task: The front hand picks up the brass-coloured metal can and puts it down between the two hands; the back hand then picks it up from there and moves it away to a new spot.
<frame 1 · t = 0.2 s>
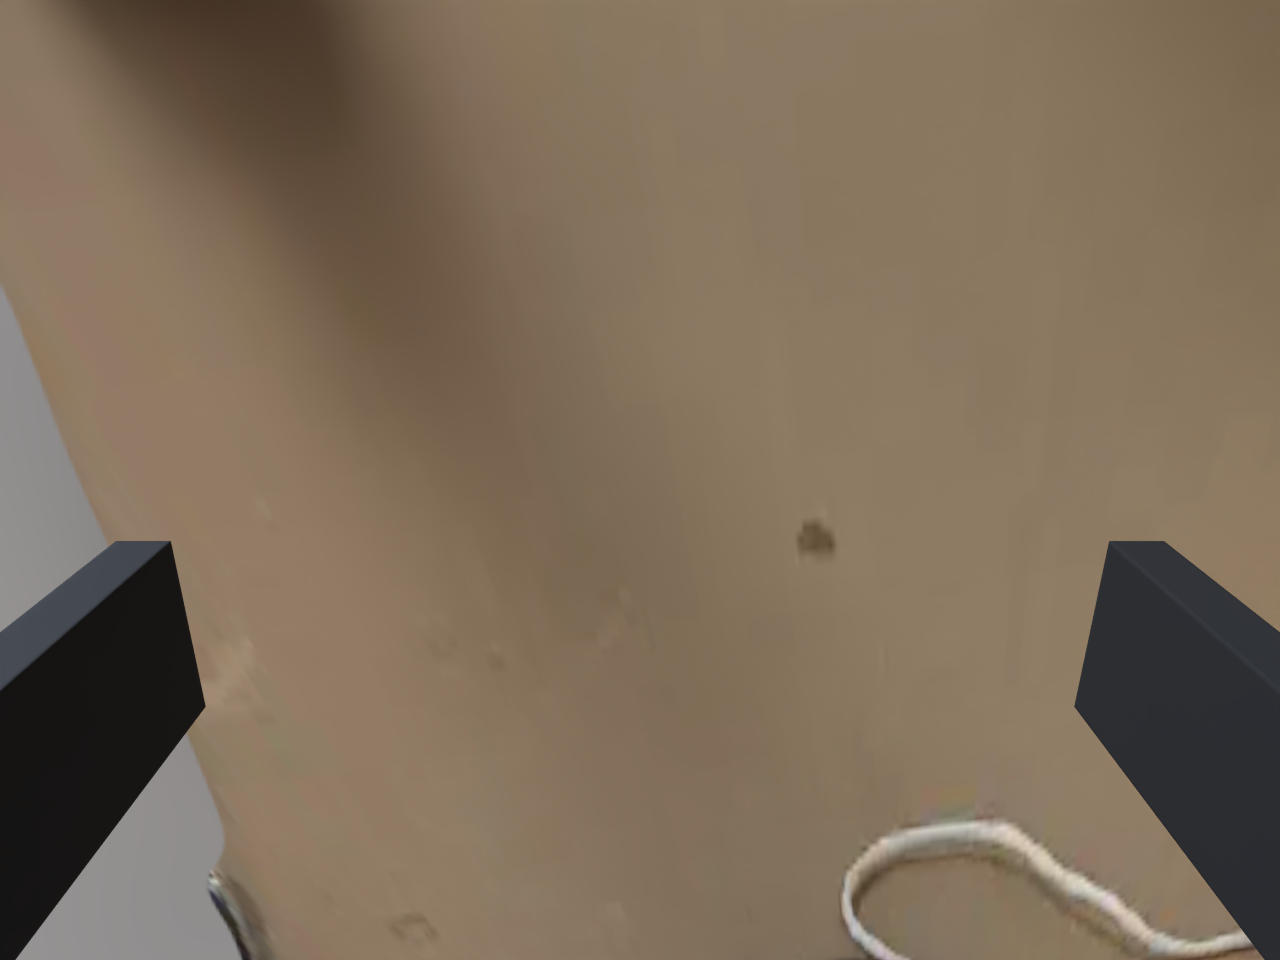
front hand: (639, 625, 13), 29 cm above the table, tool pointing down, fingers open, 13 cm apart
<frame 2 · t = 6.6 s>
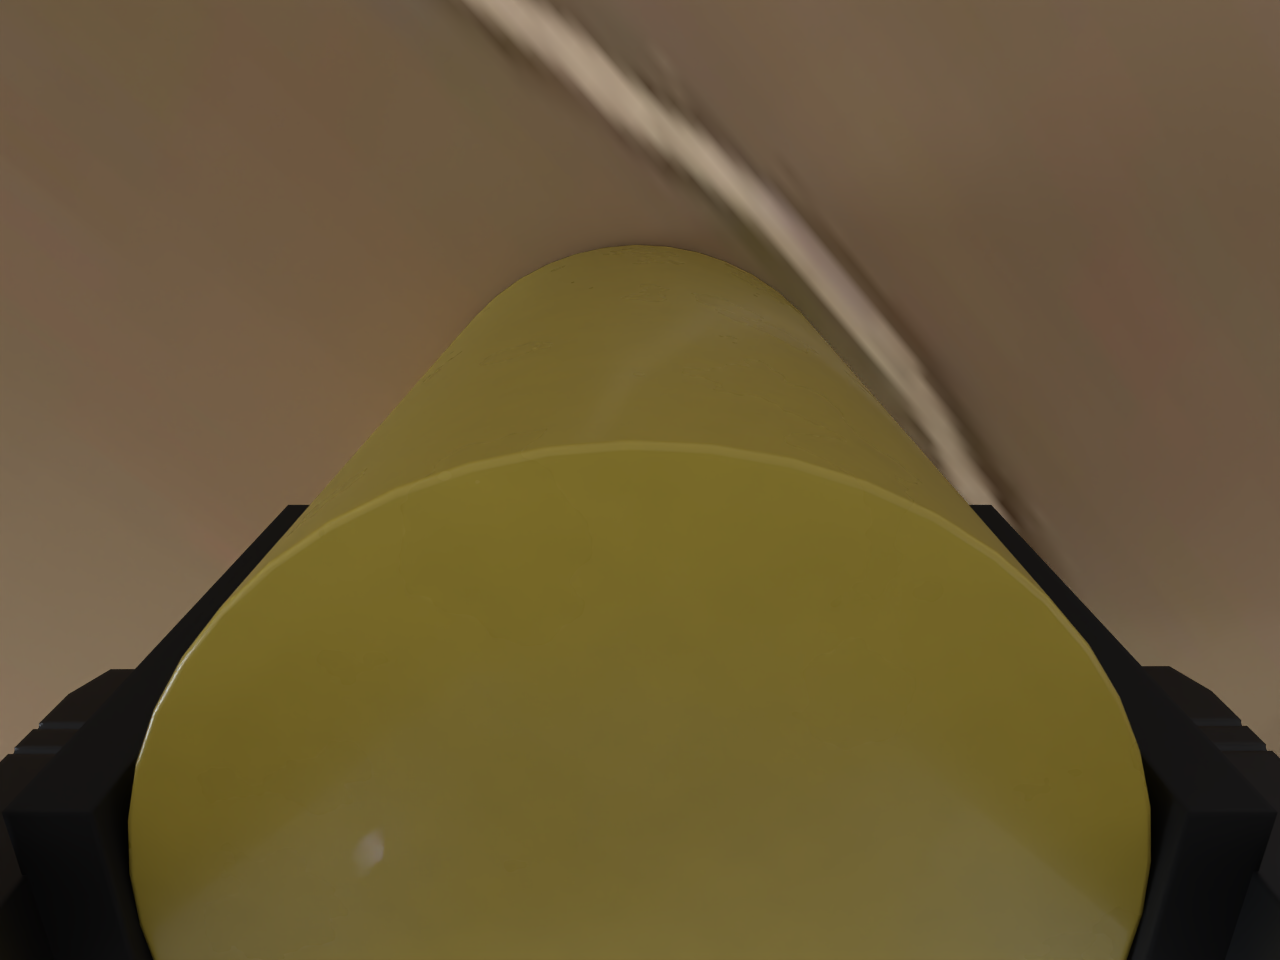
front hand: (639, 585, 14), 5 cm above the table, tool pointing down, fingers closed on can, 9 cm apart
can: (639, 464, 19), on the table, touching front hand
when the front hand's fingers open (7 cm above the table, at t = 16.2 s): can drops 1 cm, on the table.
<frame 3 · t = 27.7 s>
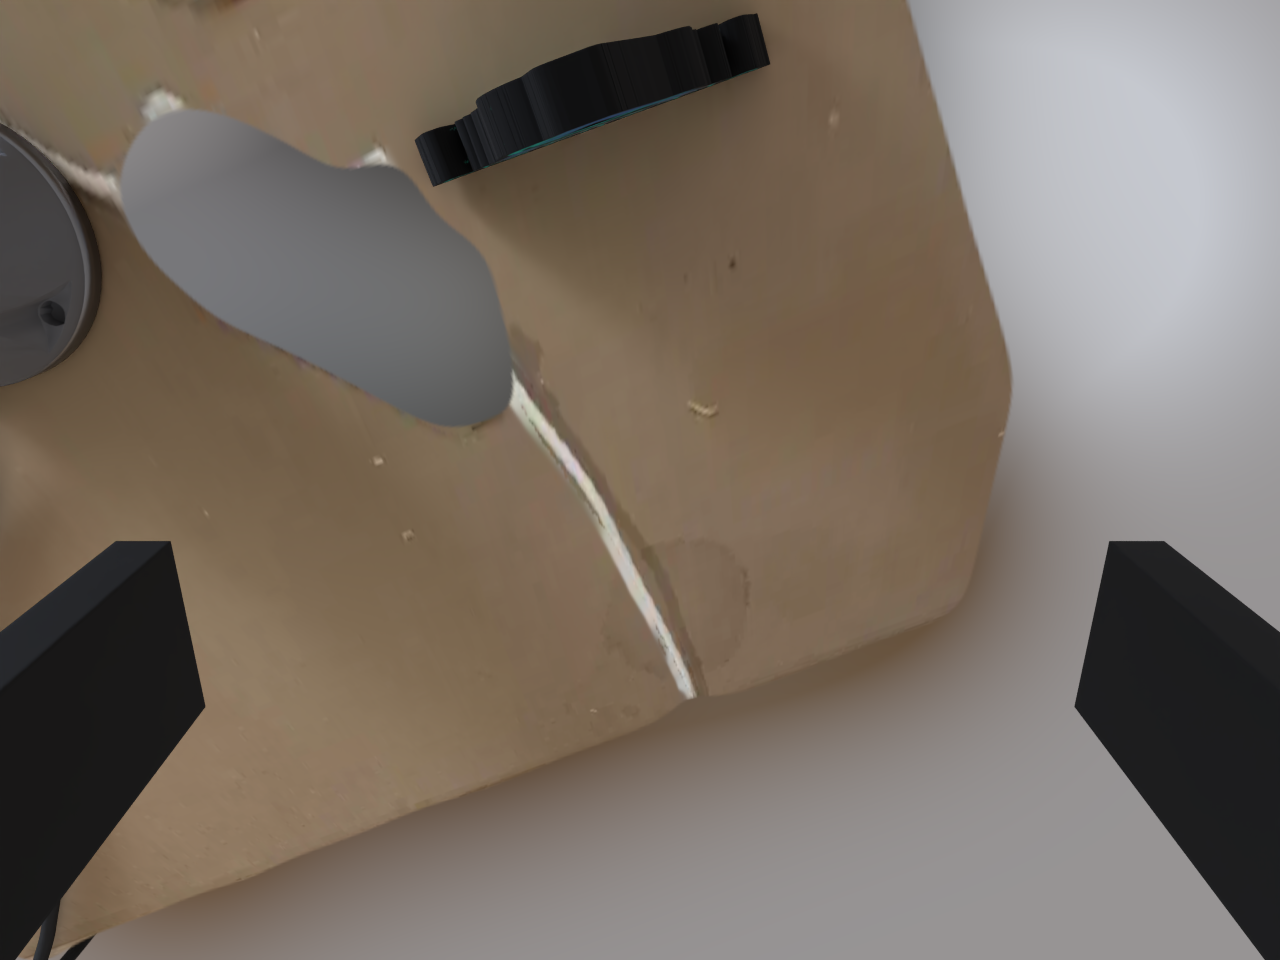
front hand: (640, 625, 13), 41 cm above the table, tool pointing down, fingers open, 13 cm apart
decorative sign: (590, 103, 48), on the table
when the back hand's fingers open (7 cm above the table, at t = 38.3 s): can drops 1 cm, on the table.
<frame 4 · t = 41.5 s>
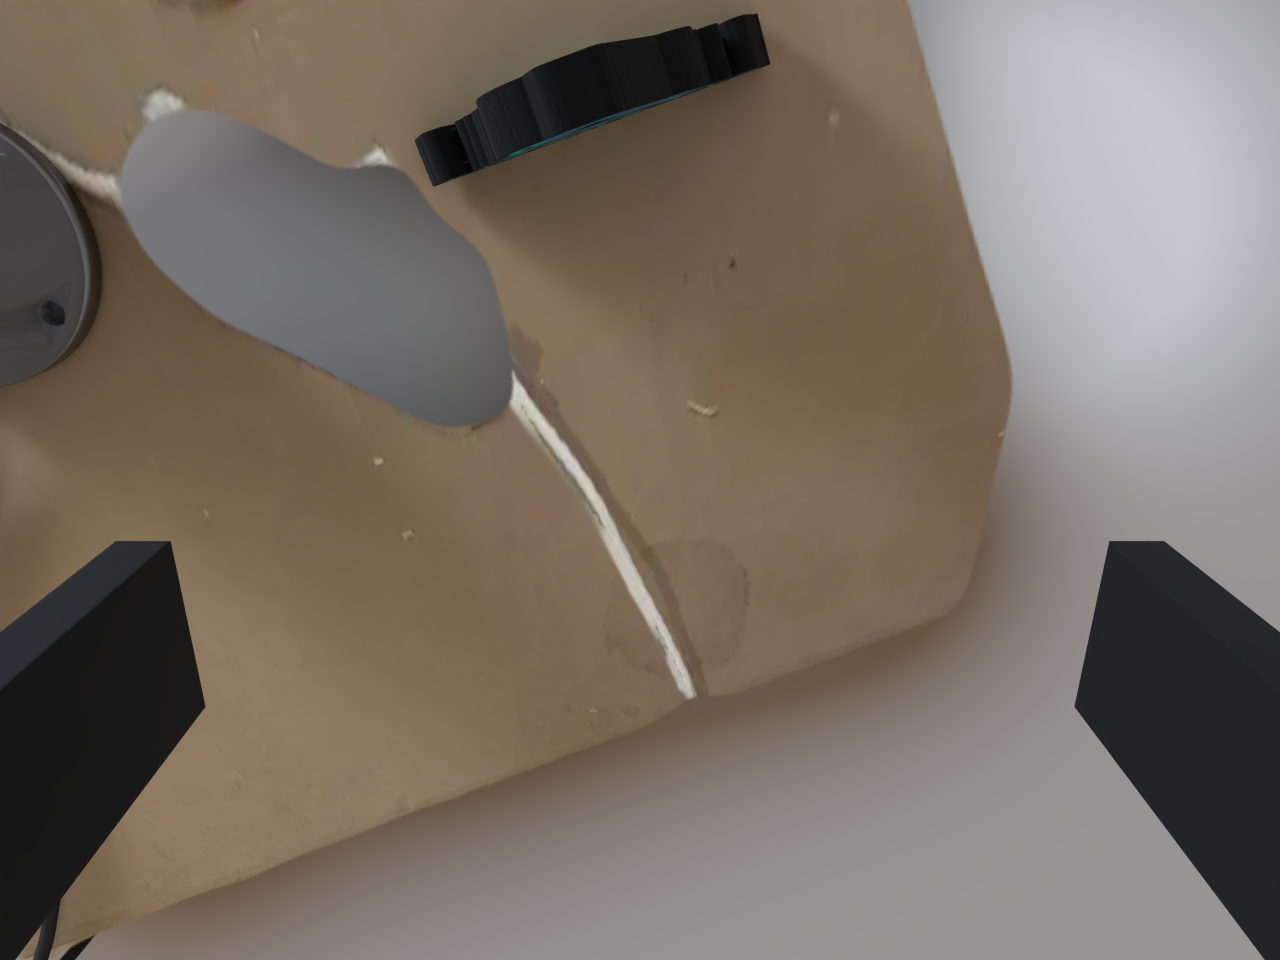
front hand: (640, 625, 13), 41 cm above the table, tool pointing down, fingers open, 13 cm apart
decorative sign: (590, 103, 48), on the table
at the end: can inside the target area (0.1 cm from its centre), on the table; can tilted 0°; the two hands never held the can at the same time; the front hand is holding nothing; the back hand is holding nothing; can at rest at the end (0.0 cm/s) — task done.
